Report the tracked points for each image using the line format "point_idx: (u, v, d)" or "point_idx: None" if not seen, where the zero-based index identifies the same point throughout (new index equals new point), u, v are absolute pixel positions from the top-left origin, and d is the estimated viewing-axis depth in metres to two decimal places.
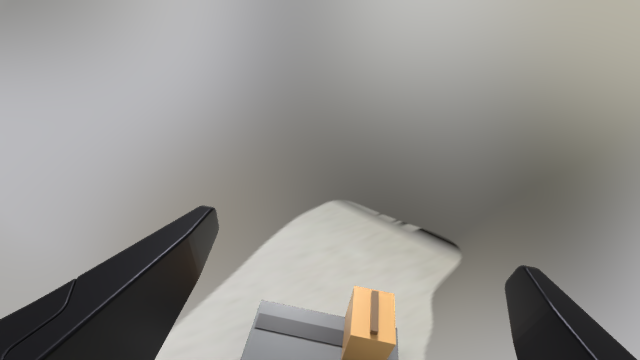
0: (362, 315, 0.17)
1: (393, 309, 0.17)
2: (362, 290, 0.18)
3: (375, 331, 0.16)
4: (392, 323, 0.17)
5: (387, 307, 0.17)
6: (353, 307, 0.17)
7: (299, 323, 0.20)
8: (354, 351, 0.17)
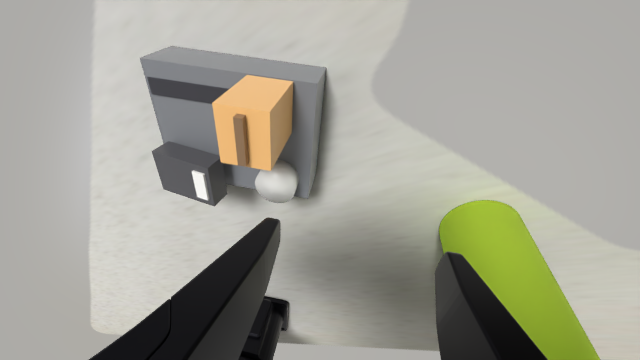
0: (230, 142, 0.13)
1: (268, 134, 0.12)
2: (224, 109, 0.12)
3: (243, 165, 0.13)
4: (267, 150, 0.13)
5: (260, 131, 0.12)
6: (217, 132, 0.13)
7: (197, 85, 0.16)
8: None
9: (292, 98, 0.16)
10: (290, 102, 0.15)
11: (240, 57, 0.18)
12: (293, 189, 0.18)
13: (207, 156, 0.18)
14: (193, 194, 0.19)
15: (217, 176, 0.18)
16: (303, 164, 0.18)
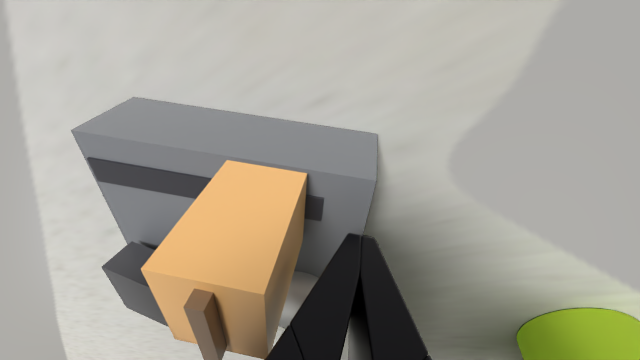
0: (187, 320, 0.07)
1: (262, 321, 0.06)
2: (168, 280, 0.06)
3: None
4: (260, 337, 0.07)
5: (245, 316, 0.06)
6: (161, 306, 0.07)
7: (169, 172, 0.10)
8: None
9: (305, 196, 0.09)
10: (302, 207, 0.09)
11: (240, 118, 0.11)
12: None
13: None
14: None
15: None
16: None
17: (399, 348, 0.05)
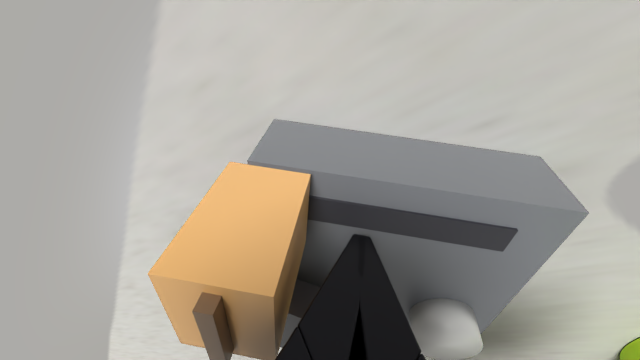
0: (194, 324, 0.07)
1: (270, 323, 0.06)
2: (175, 284, 0.06)
3: None
4: (268, 340, 0.07)
5: (254, 319, 0.06)
6: (168, 310, 0.06)
7: (344, 203, 0.09)
8: None
9: (308, 197, 0.09)
10: (306, 208, 0.09)
11: (397, 141, 0.11)
12: (479, 350, 0.11)
13: None
14: None
15: None
16: (491, 306, 0.11)
17: (392, 347, 0.05)
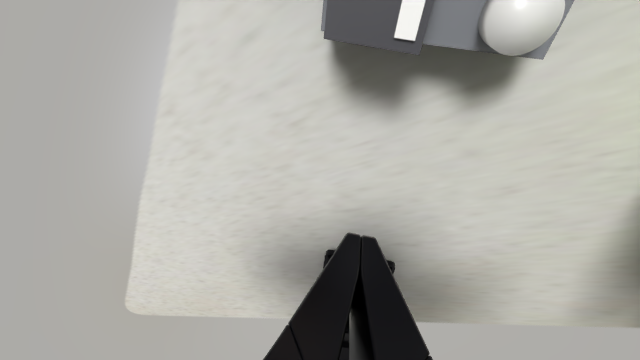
0: None
1: None
2: None
3: None
4: None
5: None
6: None
7: None
8: None
9: None
10: None
11: None
12: (559, 20, 0.11)
13: None
14: (384, 36, 0.11)
15: None
16: None
17: (400, 348, 0.05)
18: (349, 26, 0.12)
